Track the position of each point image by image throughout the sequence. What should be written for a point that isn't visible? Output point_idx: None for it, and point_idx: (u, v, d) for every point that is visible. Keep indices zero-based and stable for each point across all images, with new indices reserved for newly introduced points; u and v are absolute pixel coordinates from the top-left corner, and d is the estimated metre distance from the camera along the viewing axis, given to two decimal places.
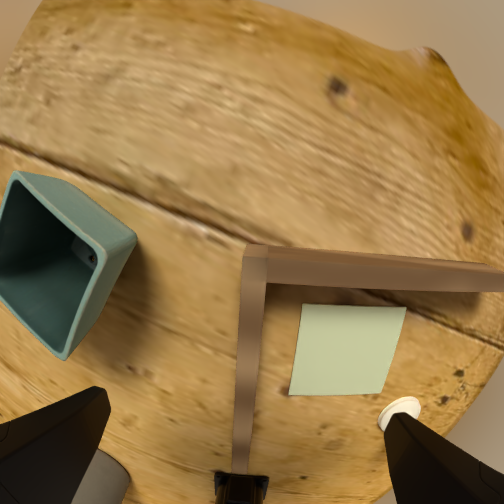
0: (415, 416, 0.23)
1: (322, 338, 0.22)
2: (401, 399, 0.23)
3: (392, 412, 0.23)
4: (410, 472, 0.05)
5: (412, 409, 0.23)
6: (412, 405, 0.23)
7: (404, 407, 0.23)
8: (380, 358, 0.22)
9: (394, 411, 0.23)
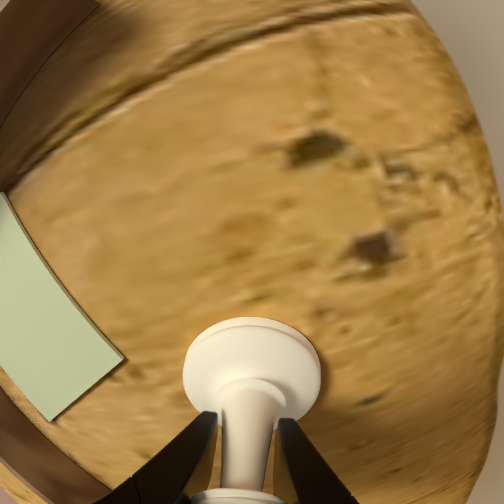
0: (288, 365, 0.08)
1: None
2: (192, 346, 0.09)
3: (192, 391, 0.09)
4: (281, 486, 0.05)
5: (239, 357, 0.08)
6: (226, 347, 0.09)
7: (205, 365, 0.09)
8: (42, 297, 0.09)
9: (193, 387, 0.09)
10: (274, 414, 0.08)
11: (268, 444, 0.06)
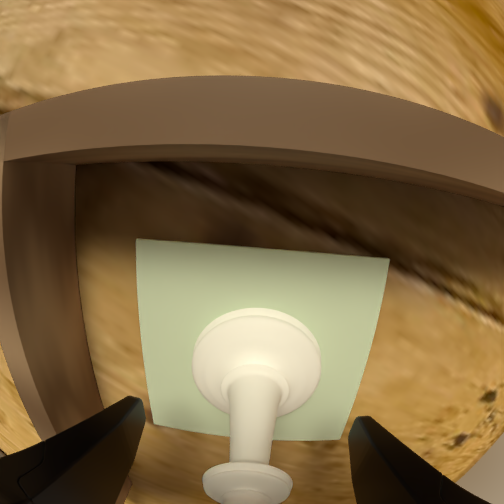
0: (290, 352, 0.09)
1: (189, 322, 0.10)
2: (201, 337, 0.10)
3: (201, 379, 0.10)
4: (369, 480, 0.05)
5: (244, 345, 0.09)
6: (232, 336, 0.09)
7: (213, 354, 0.09)
8: (333, 376, 0.11)
9: (201, 375, 0.10)
10: (278, 398, 0.08)
11: (273, 425, 0.07)
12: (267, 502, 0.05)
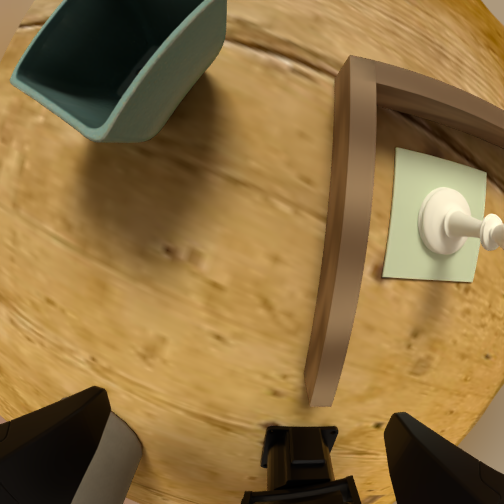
0: (463, 206, 0.16)
1: (418, 194, 0.17)
2: (425, 201, 0.17)
3: (429, 223, 0.17)
4: (410, 472, 0.05)
5: (449, 200, 0.16)
6: (444, 196, 0.16)
7: (437, 205, 0.17)
8: None
9: (430, 220, 0.17)
10: None
11: None
12: None
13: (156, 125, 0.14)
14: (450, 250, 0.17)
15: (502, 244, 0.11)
